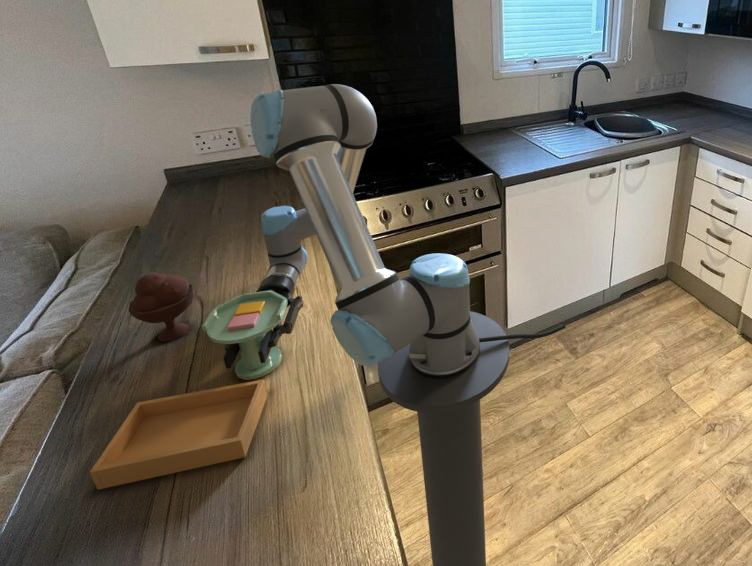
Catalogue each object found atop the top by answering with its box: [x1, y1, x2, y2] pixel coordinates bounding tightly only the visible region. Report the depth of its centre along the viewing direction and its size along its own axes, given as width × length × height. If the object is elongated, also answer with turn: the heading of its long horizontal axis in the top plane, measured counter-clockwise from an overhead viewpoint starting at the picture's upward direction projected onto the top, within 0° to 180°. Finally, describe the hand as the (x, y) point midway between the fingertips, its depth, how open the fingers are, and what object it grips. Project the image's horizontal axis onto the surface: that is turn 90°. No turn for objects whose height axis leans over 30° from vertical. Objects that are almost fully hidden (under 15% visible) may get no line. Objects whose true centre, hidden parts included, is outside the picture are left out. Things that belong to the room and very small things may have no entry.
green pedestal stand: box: [201, 290, 288, 381], centre depth 87 cm, size 13×13×13 cm
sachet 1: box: [235, 301, 265, 316], centre depth 87 cm, size 4×3×1 cm
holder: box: [89, 378, 269, 490], centre depth 73 cm, size 20×13×4 cm, turn 106°
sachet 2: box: [227, 313, 259, 331], centre depth 83 cm, size 4×3×1 cm
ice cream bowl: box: [128, 271, 194, 343], centre depth 95 cm, size 11×11×15 cm
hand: (244, 360), depth 82 cm, fingers closed on green pedestal stand, 5 cm apart
